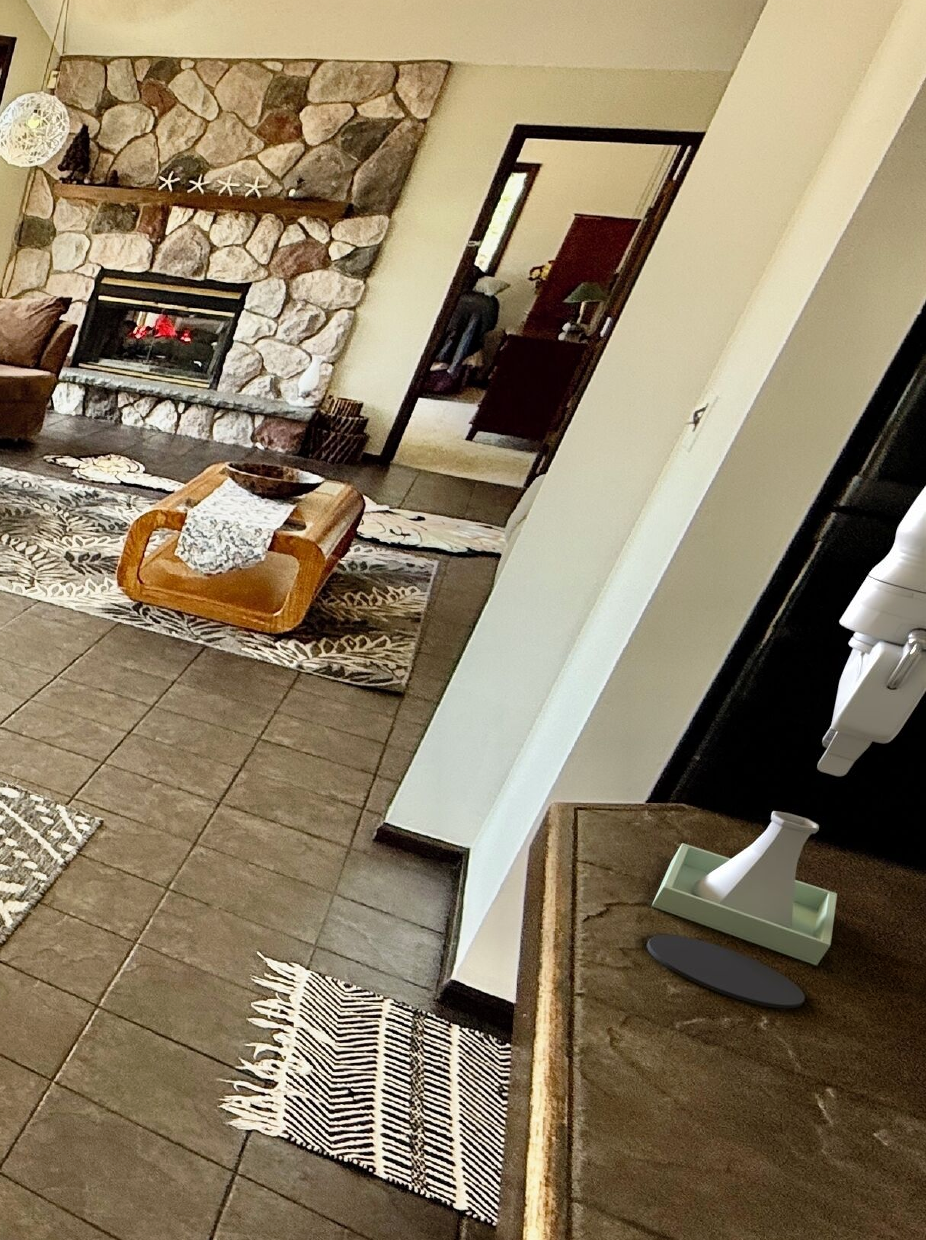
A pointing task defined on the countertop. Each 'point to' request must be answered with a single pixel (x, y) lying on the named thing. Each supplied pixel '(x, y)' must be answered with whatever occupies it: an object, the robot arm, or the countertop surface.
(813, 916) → the tray
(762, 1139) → the countertop surface
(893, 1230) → the countertop surface
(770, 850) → the flask
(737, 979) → the mat
